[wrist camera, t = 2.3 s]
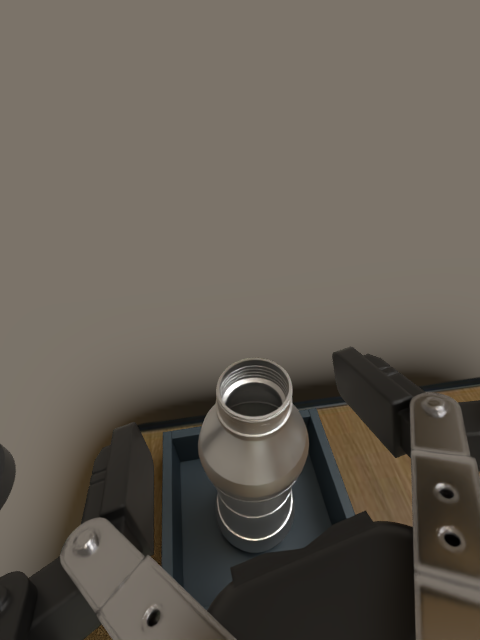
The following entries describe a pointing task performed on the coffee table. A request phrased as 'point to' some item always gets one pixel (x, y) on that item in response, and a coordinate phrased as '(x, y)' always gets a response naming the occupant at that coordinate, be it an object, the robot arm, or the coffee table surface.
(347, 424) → the coffee table surface
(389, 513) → the coffee table surface
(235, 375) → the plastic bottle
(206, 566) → the bin
